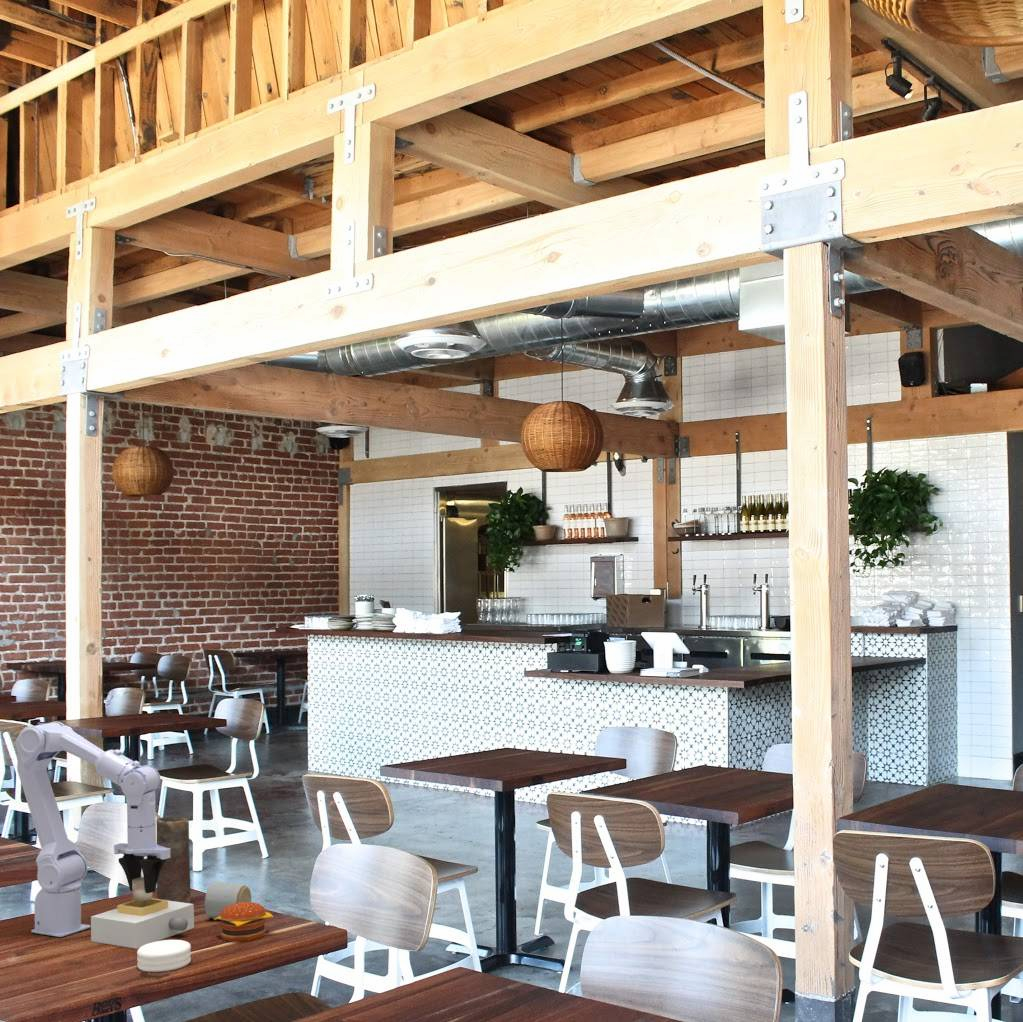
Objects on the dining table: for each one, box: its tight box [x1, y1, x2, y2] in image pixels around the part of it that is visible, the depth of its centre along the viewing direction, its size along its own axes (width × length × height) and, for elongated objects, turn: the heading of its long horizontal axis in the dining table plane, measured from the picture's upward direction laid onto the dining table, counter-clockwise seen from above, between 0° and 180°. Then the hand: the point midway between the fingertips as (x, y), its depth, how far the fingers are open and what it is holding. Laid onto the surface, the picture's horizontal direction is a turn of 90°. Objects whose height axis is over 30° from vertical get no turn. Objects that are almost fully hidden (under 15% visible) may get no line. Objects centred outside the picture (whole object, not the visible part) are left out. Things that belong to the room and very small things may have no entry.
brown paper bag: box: [156, 816, 192, 903], centre depth 277 cm, size 8×7×20 cm
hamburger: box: [213, 901, 274, 943], centre depth 252 cm, size 9×10×7 cm
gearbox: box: [90, 897, 195, 950], centre depth 255 cm, size 16×16×6 cm
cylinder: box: [131, 876, 154, 901], centre depth 256 cm, size 4×4×4 cm
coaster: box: [136, 939, 192, 973], centre depth 234 cm, size 10×10×4 cm
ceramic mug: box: [204, 881, 252, 919], centre depth 268 cm, size 11×8×8 cm
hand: (142, 891), depth 256 cm, fingers closed on cylinder, 4 cm apart
